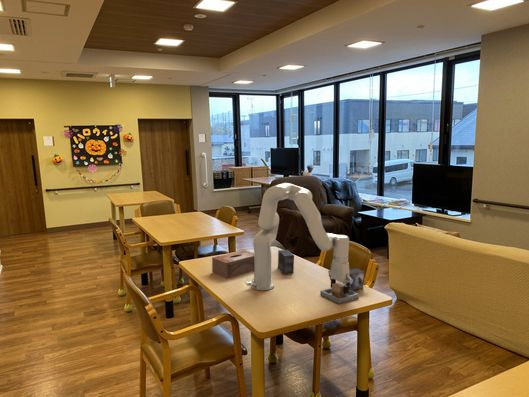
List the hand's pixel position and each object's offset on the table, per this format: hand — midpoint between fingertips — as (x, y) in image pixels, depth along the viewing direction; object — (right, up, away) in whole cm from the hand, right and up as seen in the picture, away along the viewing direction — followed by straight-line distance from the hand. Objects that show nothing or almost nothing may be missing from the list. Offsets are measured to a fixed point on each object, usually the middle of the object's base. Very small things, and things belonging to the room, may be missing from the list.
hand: (339, 290), depth 202 cm
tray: (0, -3, +1) cm, 3 cm away
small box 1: (-26, +2, +40) cm, 48 cm away
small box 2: (+10, -2, +11) cm, 15 cm away
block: (0, -3, 0) cm, 3 cm away
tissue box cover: (-58, +2, +39) cm, 70 cm away
